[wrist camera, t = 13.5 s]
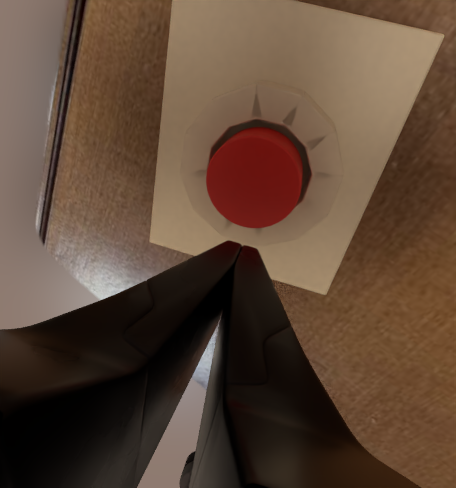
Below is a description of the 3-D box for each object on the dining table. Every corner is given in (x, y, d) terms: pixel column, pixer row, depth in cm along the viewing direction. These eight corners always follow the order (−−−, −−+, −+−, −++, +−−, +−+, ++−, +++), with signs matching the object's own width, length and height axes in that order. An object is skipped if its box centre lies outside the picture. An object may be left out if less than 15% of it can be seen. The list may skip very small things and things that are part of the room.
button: (315, 139, 13) (315, 150, 12) (288, 221, 15) (285, 239, 13) (225, 115, 13) (214, 124, 12) (210, 199, 15) (198, 214, 14)
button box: (428, 37, 14) (465, 31, 10) (325, 273, 20) (326, 318, 16) (192, -17, 15) (154, -38, 11) (163, 225, 21) (133, 259, 17)
